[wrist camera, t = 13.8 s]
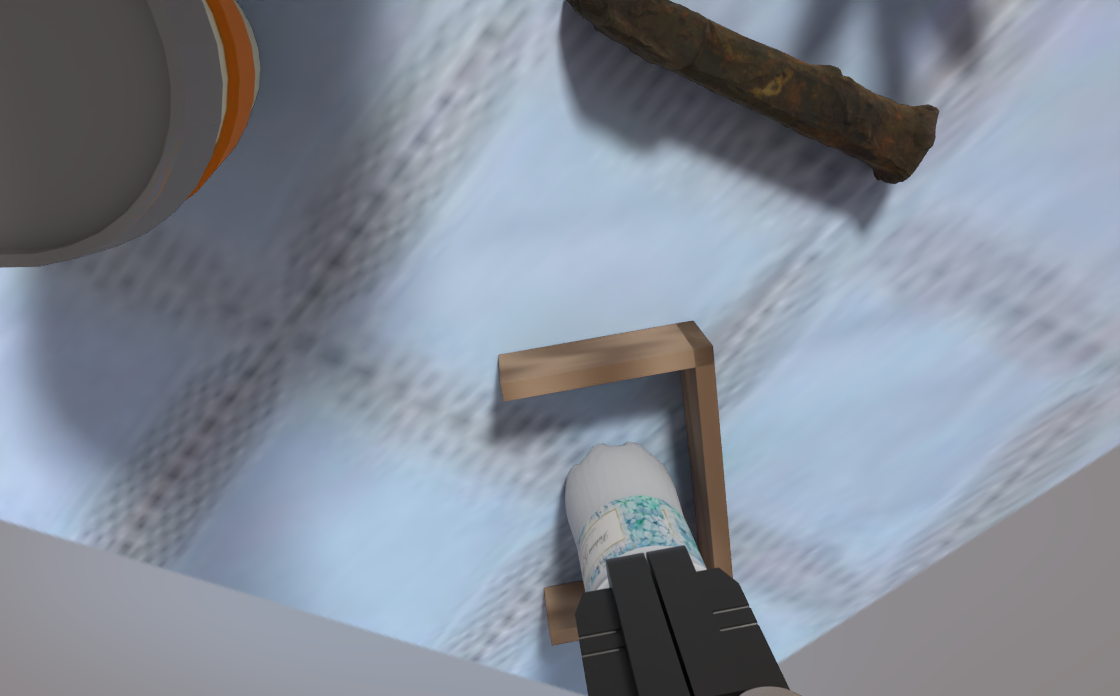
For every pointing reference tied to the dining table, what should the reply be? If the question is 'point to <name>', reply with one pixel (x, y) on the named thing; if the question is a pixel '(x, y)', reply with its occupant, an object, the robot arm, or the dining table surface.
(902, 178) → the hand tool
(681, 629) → the robot arm
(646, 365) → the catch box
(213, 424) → the dining table surface
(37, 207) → the reusable coffee cup
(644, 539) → the bottle
